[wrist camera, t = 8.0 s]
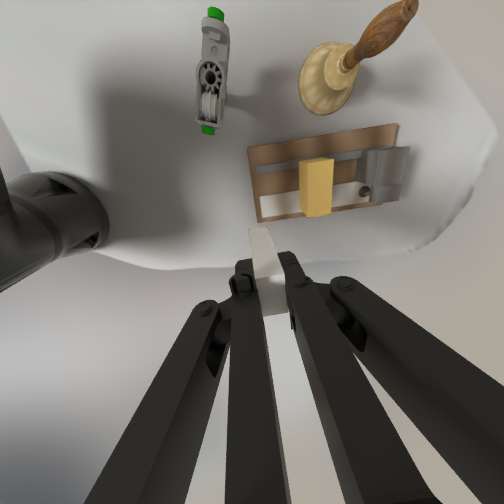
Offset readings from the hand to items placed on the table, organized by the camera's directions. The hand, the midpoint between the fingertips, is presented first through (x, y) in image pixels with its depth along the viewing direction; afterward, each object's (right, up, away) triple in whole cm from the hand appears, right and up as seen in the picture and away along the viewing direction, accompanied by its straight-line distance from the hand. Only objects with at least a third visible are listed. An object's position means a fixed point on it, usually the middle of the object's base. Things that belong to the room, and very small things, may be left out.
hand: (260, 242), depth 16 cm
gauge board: (+11, +13, +19) cm, 26 cm away
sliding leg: (+9, +11, +17) cm, 22 cm away
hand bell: (+10, +25, +13) cm, 30 cm away
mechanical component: (-5, +23, +13) cm, 27 cm away
